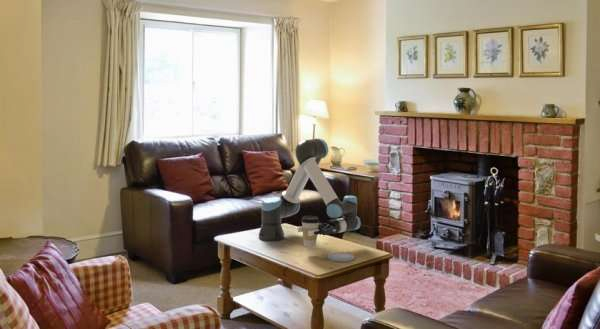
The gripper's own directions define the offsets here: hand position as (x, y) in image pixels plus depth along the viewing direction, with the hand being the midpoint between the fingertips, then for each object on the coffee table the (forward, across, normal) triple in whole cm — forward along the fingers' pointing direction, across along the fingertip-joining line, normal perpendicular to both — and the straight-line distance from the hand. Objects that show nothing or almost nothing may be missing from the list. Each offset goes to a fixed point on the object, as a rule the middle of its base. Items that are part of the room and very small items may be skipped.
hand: (303, 231), depth 306 cm
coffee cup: (-5, 0, -8) cm, 9 cm away
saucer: (-14, -15, -13) cm, 24 cm away
